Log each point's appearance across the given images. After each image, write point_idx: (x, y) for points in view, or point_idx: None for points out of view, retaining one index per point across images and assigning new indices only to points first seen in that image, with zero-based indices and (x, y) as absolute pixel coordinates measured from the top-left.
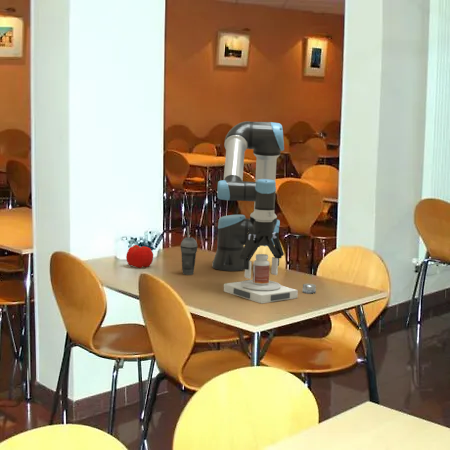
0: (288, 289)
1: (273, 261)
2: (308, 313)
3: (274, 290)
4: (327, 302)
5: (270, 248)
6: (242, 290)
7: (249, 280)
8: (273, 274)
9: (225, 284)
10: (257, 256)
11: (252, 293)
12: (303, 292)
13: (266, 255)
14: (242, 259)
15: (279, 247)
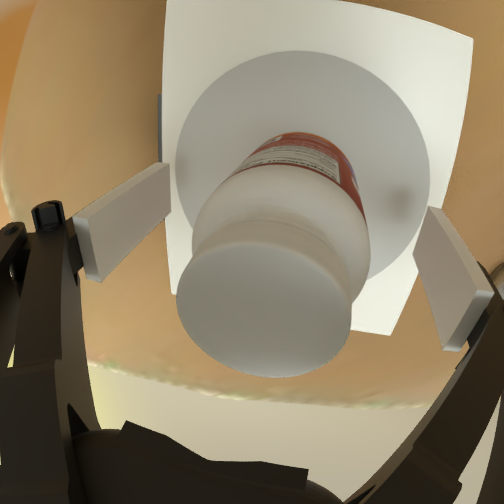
0: (373, 306)
1: (454, 283)
2: (235, 399)
3: None
4: (396, 386)
5: (429, 415)
6: (165, 161)
7: (314, 66)
8: (420, 229)
9: (166, 12)
10: (179, 302)
11: (168, 236)
12: (492, 273)
13: (290, 365)
14: (30, 237)
15: (494, 450)
